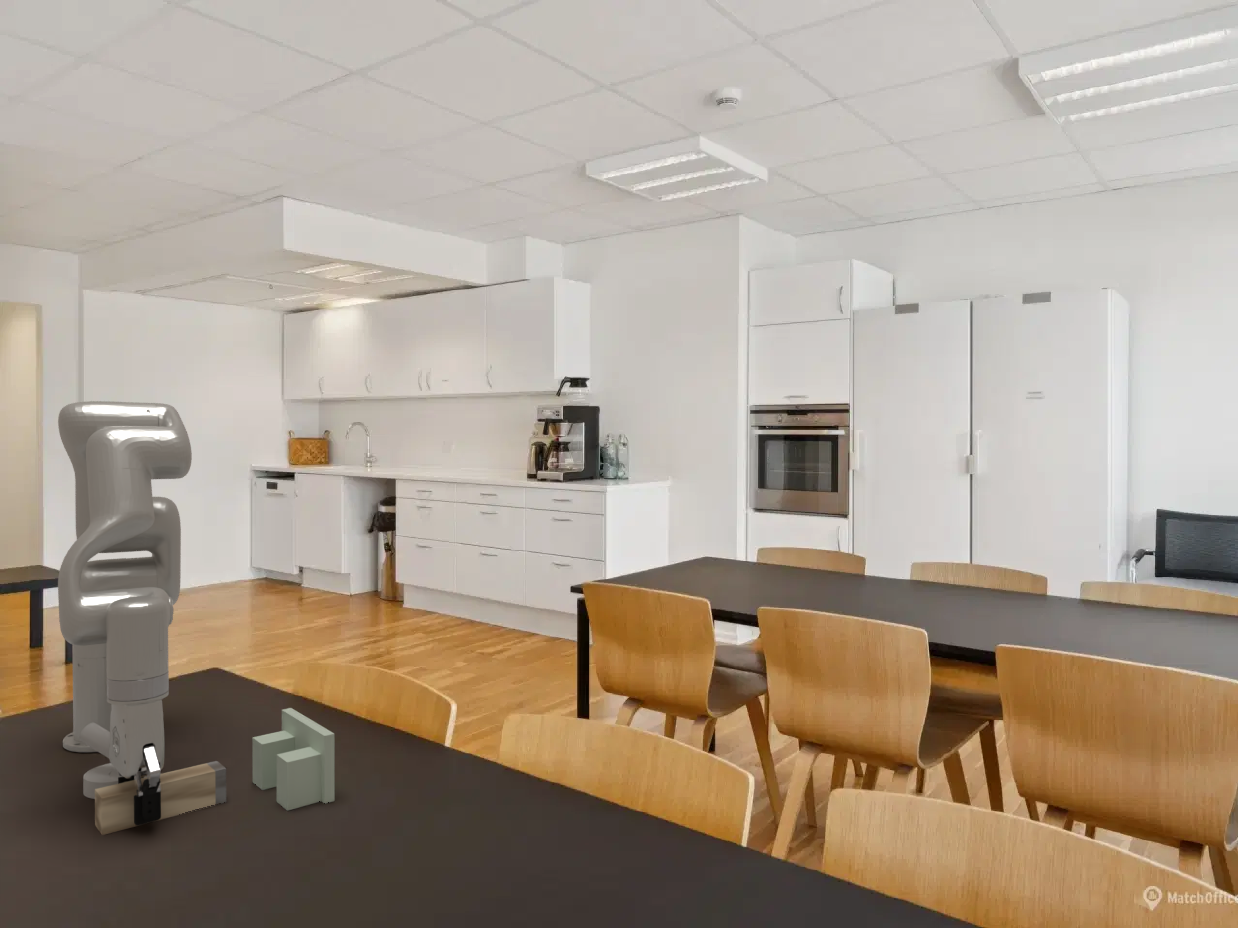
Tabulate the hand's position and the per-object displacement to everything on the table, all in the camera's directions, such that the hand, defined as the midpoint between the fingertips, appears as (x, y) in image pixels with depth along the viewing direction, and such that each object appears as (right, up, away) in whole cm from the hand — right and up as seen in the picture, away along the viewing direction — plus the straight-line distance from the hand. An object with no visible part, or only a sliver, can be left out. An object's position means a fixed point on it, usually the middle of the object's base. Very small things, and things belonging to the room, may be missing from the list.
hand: (139, 811), depth 122 cm
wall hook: (-10, -1, +11) cm, 15 cm away
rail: (+2, -1, +2) cm, 3 cm away
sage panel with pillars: (+17, -1, +10) cm, 19 cm away
